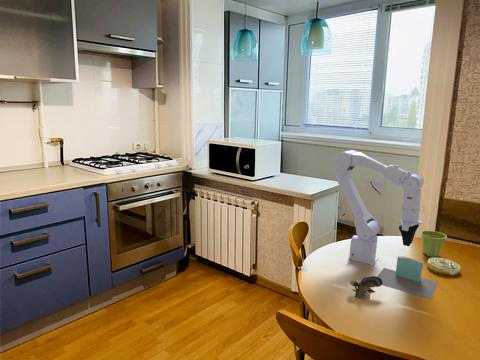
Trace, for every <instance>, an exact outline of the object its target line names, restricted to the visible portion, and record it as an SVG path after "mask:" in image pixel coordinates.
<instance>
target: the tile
mask: <svg viewBox="0 0 480 360" xmlns="http://www.w3.org/2000/svg"><path fill="white" fill-rule="evenodd" d="M396 259H397V260H396V269H395V271H396V276H400V277H403V278H407V279H411V280H414V281H418V282H420V281H421V278H422V274H423V266H424V261H423V260H420V259H414V258H409V257H406V256H402V255H398V256H397V258H396Z"/></svg>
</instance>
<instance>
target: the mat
mask: <svg viewBox="0 0 480 360" xmlns="http://www.w3.org/2000/svg"><path fill="white" fill-rule="evenodd" d="M376 277H379V278H380V279H381V280H382V282H383V283H382V285H381V286H383V287H388V288H389V289H390V288H391V289H395V290H398V291H400V292H404V293H407V294H411V295H415V296H419V297H421V298H426V299H429V300H432V298H433V295H434V293H435V291H436V288H437V287H438V286H437V285H438V283H439V281H435V280H432V279H428V278H424V277H421V281H420V282H418V281H414V280H411V279H407V278H403V277H400V276H396V270H393V269H391V268H387V267H383V268H382V269H381V270H380V272H379V273H378V275H377V276H376Z"/></svg>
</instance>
